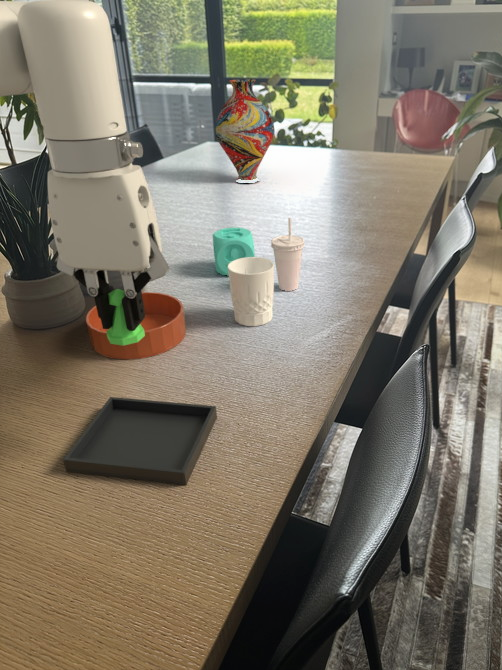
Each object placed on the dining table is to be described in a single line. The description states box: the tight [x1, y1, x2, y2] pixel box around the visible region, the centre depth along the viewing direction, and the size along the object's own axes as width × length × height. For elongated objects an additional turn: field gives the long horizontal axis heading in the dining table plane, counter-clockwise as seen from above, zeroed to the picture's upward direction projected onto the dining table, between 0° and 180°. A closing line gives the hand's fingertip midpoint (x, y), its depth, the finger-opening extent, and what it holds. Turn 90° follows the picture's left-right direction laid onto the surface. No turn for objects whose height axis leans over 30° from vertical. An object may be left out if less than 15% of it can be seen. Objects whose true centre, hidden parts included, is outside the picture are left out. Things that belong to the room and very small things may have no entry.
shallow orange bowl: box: [85, 291, 187, 360], centre depth 93 cm, size 16×16×4 cm
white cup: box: [228, 256, 275, 327], centre depth 96 cm, size 8×8×10 cm
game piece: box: [106, 288, 145, 346], centre depth 62 cm, size 4×4×6 cm
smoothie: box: [270, 217, 305, 292], centre depth 106 cm, size 6×6×14 cm
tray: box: [62, 396, 218, 486], centre depth 69 cm, size 15×13×2 cm
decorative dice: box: [212, 227, 256, 277], centre depth 116 cm, size 8×8×8 cm
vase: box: [215, 78, 275, 180], centre depth 176 cm, size 19×19×30 cm
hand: (123, 323), depth 63 cm, fingers closed on game piece, 2 cm apart
